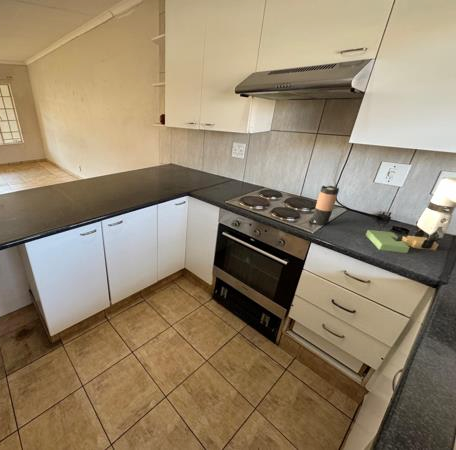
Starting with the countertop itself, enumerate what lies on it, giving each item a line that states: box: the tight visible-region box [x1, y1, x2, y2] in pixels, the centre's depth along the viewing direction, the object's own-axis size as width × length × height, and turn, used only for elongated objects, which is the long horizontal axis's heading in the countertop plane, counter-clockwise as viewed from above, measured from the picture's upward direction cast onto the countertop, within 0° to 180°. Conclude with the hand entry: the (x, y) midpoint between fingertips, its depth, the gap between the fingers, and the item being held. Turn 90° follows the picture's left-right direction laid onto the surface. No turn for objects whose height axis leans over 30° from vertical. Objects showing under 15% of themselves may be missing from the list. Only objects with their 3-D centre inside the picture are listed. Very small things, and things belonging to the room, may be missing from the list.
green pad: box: [365, 229, 411, 254], centre depth 113 cm, size 10×14×3 cm
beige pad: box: [400, 235, 440, 251], centre depth 111 cm, size 11×6×3 cm, turn 73°
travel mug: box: [312, 185, 340, 227], centre depth 129 cm, size 8×8×20 cm
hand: (420, 243), depth 111 cm, fingers closed on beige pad, 6 cm apart
